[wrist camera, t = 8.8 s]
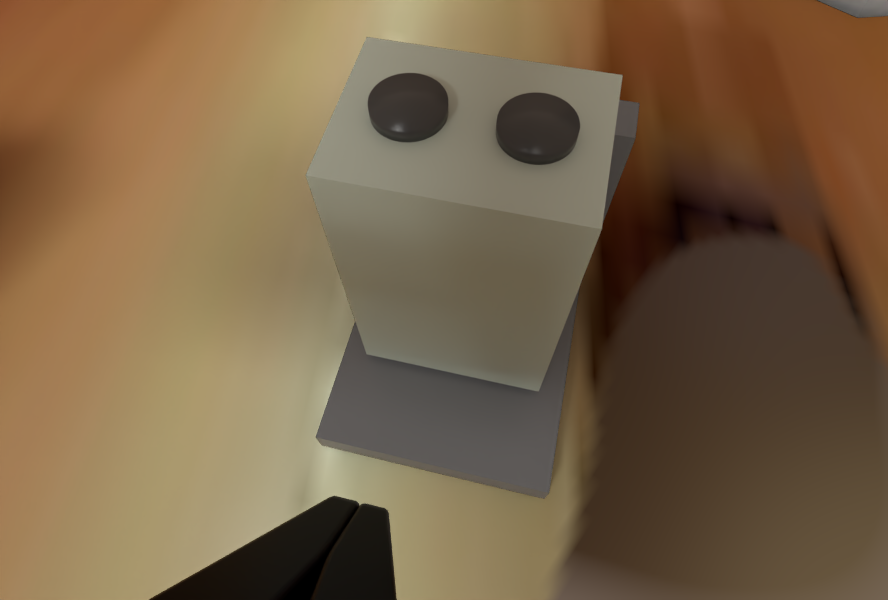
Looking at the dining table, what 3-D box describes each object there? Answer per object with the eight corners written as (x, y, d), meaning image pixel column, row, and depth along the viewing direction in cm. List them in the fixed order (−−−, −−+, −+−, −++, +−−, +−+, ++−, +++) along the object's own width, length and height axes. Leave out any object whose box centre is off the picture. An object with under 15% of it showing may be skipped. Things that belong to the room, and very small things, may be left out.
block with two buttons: (538, 391, 18) (605, 219, 10) (366, 354, 19) (302, 164, 11) (557, 282, 20) (626, 63, 12) (399, 252, 21) (364, 25, 13)
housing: (544, 498, 18) (602, 426, 11) (321, 445, 19) (242, 346, 12) (579, 267, 22) (639, 103, 15) (393, 231, 23) (366, 60, 16)
